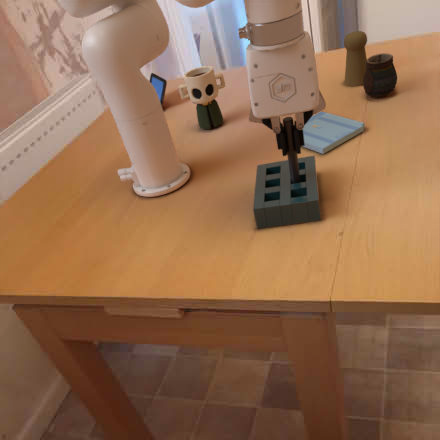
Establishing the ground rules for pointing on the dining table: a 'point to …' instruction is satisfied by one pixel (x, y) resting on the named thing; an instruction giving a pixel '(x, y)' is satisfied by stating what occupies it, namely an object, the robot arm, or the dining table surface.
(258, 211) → the pen stand
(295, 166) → the stylus
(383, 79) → the mate gourd
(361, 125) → the light blue flat board
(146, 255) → the dining table surface
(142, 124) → the robot arm
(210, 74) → the character mug
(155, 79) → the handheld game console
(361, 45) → the cork
